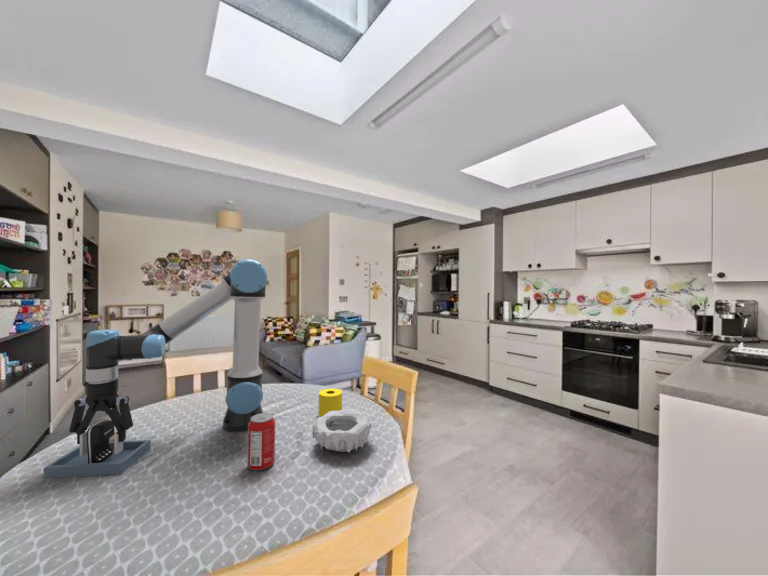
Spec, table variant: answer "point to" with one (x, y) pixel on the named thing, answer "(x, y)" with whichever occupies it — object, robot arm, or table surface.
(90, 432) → the battery charger
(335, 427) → the bowl
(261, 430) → the soda can
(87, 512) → the table surface
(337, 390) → the tape roll
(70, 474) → the parts tray
